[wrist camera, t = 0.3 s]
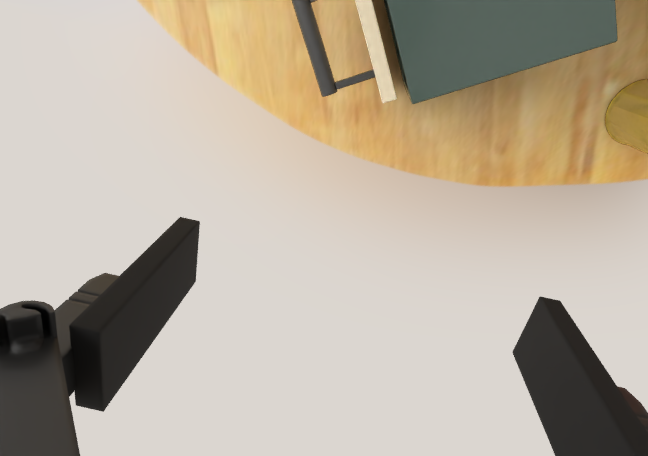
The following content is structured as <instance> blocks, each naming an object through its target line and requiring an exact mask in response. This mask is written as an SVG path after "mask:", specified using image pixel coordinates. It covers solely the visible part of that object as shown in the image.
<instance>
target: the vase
mask: <svg viewBox="0 0 648 456" xmlns="http://www.w3.org/2000/svg"><path fill="white" fill-rule="evenodd" d="M605 124H606V128H607V131H608V133H609V135H610V136H611V137H612V138H613V139H614V140H616V141H617V142H619V143H621V144H625V145H629V146H631V147H633V148H635V149H637V150H640V151H642V152H645V153H647V154H648V79H645V80H640V81H637V82H634V83H632V84H630V85H628V86H627V87H625V88H624V89H622V90H621V91H620V92H619V93H618V94H617V95H616V96H615V97H614V99H613V100H612V101H611V103H610V105H609V107H608V109H607V112H606V117H605Z"/></svg>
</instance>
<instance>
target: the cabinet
mask: <svg viewBox="0 0 648 456" xmlns="http://www.w3.org/2000/svg"><path fill="white" fill-rule="evenodd" d="M384 3H385V8H386V12H387V16H388V20H389V24H390V28H391V32H392V36H393V40H394V44H395V49H396V53H397V57H398V61H399V65H400V69H401V73H402V77H403V81H404V85H405V89H406V91H407V93H408V96H409V98H410V100H411V102H412V104H415V103H418V102H422V101H425V100H428V99H432V98H435V97H438V96H441V95H445V94H448V93H451V92H454V91H458V90H461V89H464V88H467V87H471V86H474V85H477V84H480V83H484V82H487V81H490V80H493V79H497V78H500V77H503V76H506V75H510V74H513V73H516V72H519V71H523V70H526V69H529V68H532V67H536V66H539V65H542V64H545V63H549V62H552V61H555V60H558V59H562V58H565V57H568V56H571V55H575V54H578V53H581V52H584V51H588V50H591V49H594V48H597V47H601V46H604V45H607V44H610V43H614V42H616V41H617V24H616V7H615V0H384Z"/></svg>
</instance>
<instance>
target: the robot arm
mask: <svg viewBox="0 0 648 456" xmlns="http://www.w3.org/2000/svg"><path fill="white" fill-rule="evenodd" d="M199 224H200V222H199V221H195V220H191V219H186V218H182V217H180V218H179V219H178V220H177V221H176V222H175V223H174V224H173V225H172V226H171V227H170V228H169V229H167V230H166V231H165V232H164V233H163V234H162V235H161V236H160V237H159V238H158V239H157V240H156V241H155V242H154V243H153V244H152V245H151V246H150V247H149V248H148V249H147V250H146V251H145V252H144V253H143V254H142V255H141V256H140V257H139V258H138V259H137V260H136V261H135V262H134V263H132V264H131V265H130V266H129V267H128V268H127V269H126V270H125V271H124V272H123V273H122V274H121V275H120V276H116V275H112V274H108V273H104V274H102V275H99V276H97V277H95V278H93V279H90V280H89V281H87V282H86V283H85V284H84V285H83V286H82V287H81V288H80V289H78V292H75V293H74V294H73V295H72V296H71V297H69V300H66V301H65V302H64V303H63V304H62V305H60V306H59V307H58V308H57V309H56V310H55V311H54V309H53V307H52V306H50V305H49V304H47V303H45V302H39V301H21V302H18V303H14V304H10V305H8V306H6V307H4V308H1V309H0V456H80V454H79V448H78V443H77V437H76V433H75V427H74V421H73V416H72V411H71V405H70V400H69V396H70V395H71V394H72V393H73V392H74V390H75V400H76V405H77V406H81V407H86V408H90V409H95V410H99V411H104V410H105V408H106V407H107V406H108V404H109V403H110V401H111V400H112V398H113V397H114V396H115V394H116V393H117V392H118V390H119V389H120V387H121V386H122V384H123V383H124V382H125V380H126V379H127V377H128V376H129V375H130V373H131V372H132V370H133V369H134V368H135V366H136V364H137V363H138V362H139V361H140V359H141V358H142V356H143V355H144V353H145V352H146V350H147V349H148V348H149V346H150V345H151V344H152V342H153V341H154V339H155V338H156V337H157V335H158V334H159V332H160V331H161V329H162V328H163V327H164V325H165V324H166V322H167V321H168V320H169V318H170V317H171V315H172V314H173V313H174V311H175V310H176V308H177V307H178V305H179V304H180V303H181V301H182V300H183V298H184V297H185V296H186V294H187V293H188V291H189V290H190V288H191V287H192V286H193V284H194V283H195V281H196V267H197V266H196V265H197V253H198V238H199ZM513 355H514V357H515V360H516V362H517V364H518V367H519V369H520V371H521V374H522V376H523V378H524V381H525V384H526V386H527V388H528V391H529V393H530V395H531V398H532V400H533V403H534V405H535V407H536V410H537V413H538V415H539V417H540V420H541V422H542V425H543V427H544V429H545V432H546V434H547V436H548V439H549V441H550V444H551V446H552V449H553V451H554V453H555V456H648V413H647V411H646V410H645V408H644V407H643V406H642V404H641V403H640V402H639V401H638V400H637V399H636V398H635V397H634V396H633V395H632V394H630V393H629V392H628V391H627V390H626V389H625V388H622V387H617V386H616V385H615V383H614V381H613V380H612V378H611V377H610V375H609V374H608V372H607V371H606V369H605V368H604V366H603V365H602V363H601V362H600V360H599V359H598V357H597V356H596V354H595V353H594V351H593V350H592V348H591V347H590V345H589V344H588V342H587V341H586V339H585V338H584V336H583V335H582V333H581V332H580V330H579V329H578V327H577V326H576V324H575V323H574V321H573V320H572V318H571V317H570V315H569V314H568V312H567V311H566V309H565V308H564V306H563V305H562V303H561V302H560V301H558V300H553V299H548V298H544V297H539V299H538V302H537V303H536V305H535V308H534V310H533V312H532V314H531V316H530V318H529V320H528V322H527V324H526V326H525V328H524V330H523V332H522V334H521V336H520V338H519V340H518V342H517V344H516V346H515V348H514V350H513Z"/></svg>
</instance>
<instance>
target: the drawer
mask: <svg viewBox="0 0 648 456" xmlns="http://www.w3.org/2000/svg"><path fill="white" fill-rule="evenodd" d="M315 1H317V0H292V3H293V6H294V9H295V12H296V16H297V19H298V22H299V25H300V28H301V31H302V35H303V38H304V41H305V44H306V47H307V50H308V53H309V57H310V60H311V63H312V66H313V69H314V72H315V75H316V79H317V82H318V85H319V88H320V91H321V94H322V96H323V97H324V96H328V95H331V94H334V93H336V92H337V89H340V88H343V87H346V86H349V85H353V84H356V83H359V82H362V81H365V80H368V79H371V78H374V77H376V81H377V85H378V89H379V92H380V96H381V100H382V103H386V102H389V101H393V100H396V99H397V96H396V92H395V89H394V85H393V81H392V77H391V73H390V69H389V65H388V61H387V57H386V53H385V49H384V45H383V41H382V37H381V33H380V29H379V25H378V21H377V17H376V14H375V10H374V6H373V2H372V0H355V2H356V6H357V10H358V14H359V17H360V21H361V25H362V29H363V32H364V36H365V40H366V44H367V47H368V51H369V55H370V59H371V62H372V66H373V70H370V71H367V72H364V73H361V74H358V75H355V76H352V77H349V78H346V79H343V80H340V81H337V82H335V81H334V78H333V75H332V71H331V68H330V65H329V61H328V58H327V55H326V51H325V48H324V45H323V42H322V38H321V35H320V32H319V28H318V25H317V22H316V18H315V15H314V12H313V9H312V5H311V3H312V2H315Z"/></svg>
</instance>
